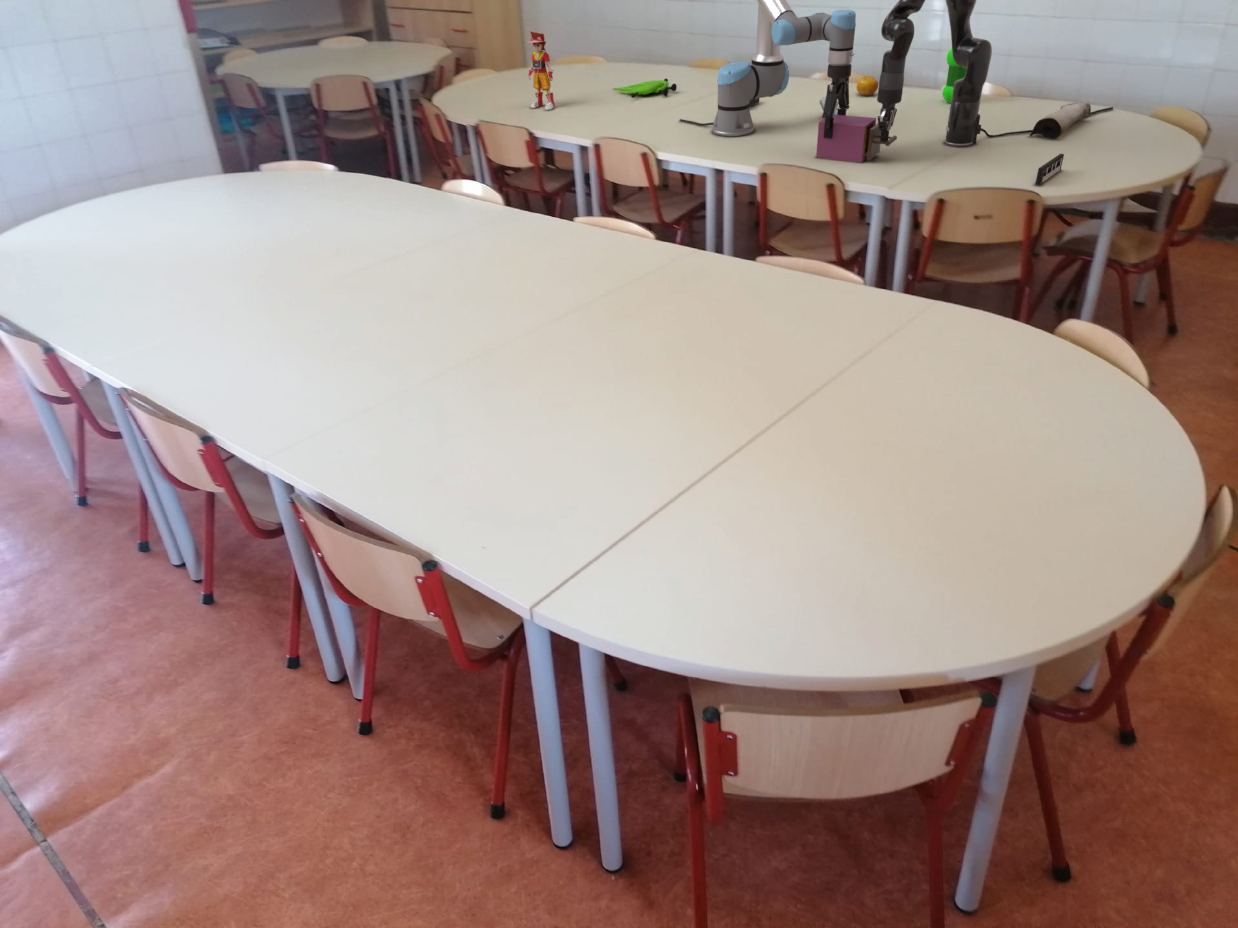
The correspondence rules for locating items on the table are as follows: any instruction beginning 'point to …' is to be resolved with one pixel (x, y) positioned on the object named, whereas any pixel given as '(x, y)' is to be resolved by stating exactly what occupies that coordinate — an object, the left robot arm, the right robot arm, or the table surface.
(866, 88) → the fruit
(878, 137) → the drawer
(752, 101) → the disk drive
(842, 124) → the cabinet
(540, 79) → the toy
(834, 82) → the left robot arm
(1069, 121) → the rolled mat
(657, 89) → the toy
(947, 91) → the green dumbbell
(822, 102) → the anatomical model
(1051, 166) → the midi keyboard
